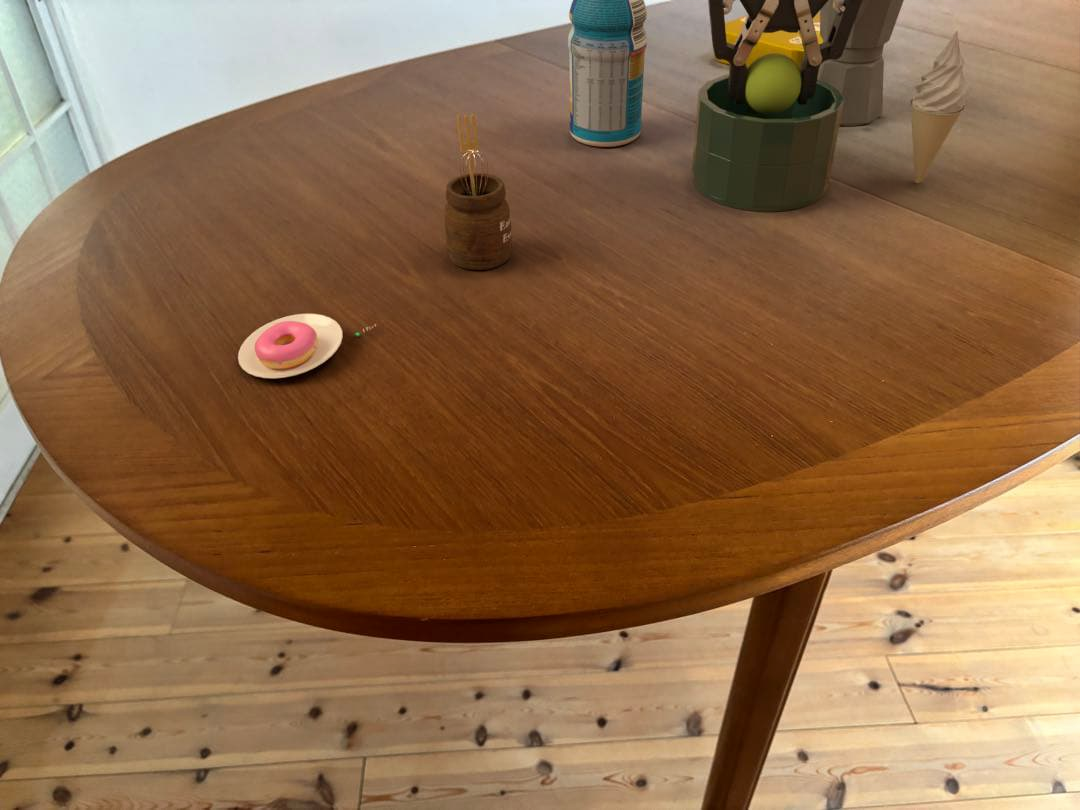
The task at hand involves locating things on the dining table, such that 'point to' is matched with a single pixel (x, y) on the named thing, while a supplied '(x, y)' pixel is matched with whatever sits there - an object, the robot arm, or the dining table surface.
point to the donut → (290, 346)
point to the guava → (772, 84)
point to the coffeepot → (860, 59)
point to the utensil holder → (476, 213)
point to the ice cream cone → (937, 105)
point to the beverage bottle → (606, 70)
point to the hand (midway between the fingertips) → (769, 101)
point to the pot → (764, 149)
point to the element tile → (771, 41)
